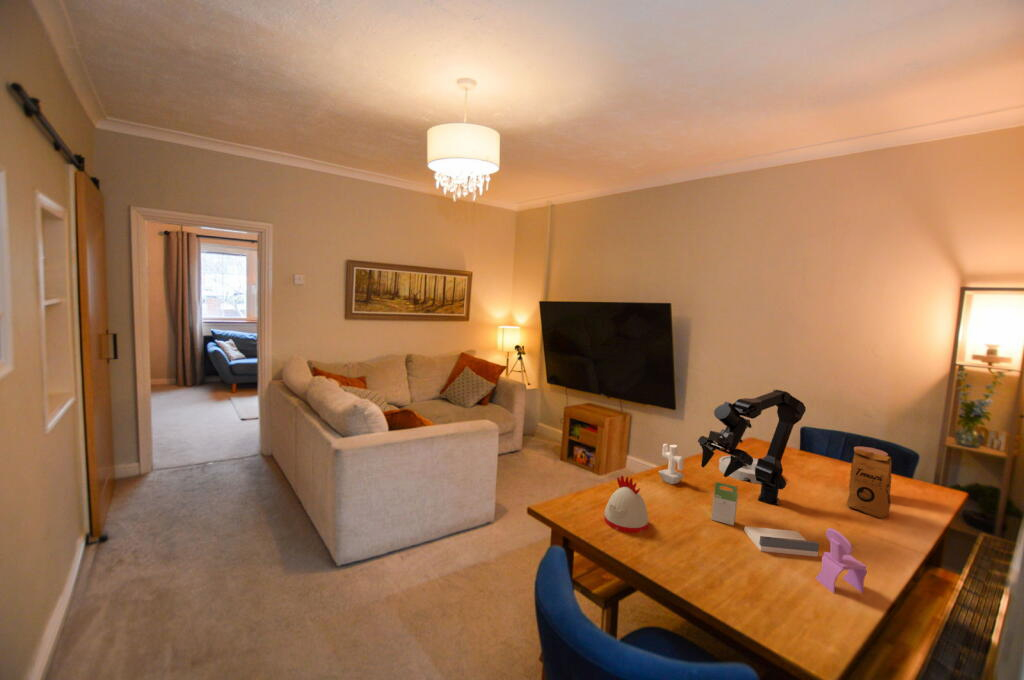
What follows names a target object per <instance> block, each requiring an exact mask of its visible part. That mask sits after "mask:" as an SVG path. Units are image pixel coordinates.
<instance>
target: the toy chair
mask: <svg viewBox="0 0 1024 680" xmlns="http://www.w3.org/2000/svg"><path fill="white" fill-rule="evenodd" d="M825 535H826V538H827V540H828V541H829V543H830V552H829V551H823V555H822V558H821V569H820V572H819V573H818V574H817V575H816V577H815V580H817V581H818V582H819V583H820V584H821V585H823V586H824V587H825V588H826V589H827V590H828V591H829V592H831V593H832V594H835V592H836V590H835V588H836V580H837V578H838V577H839V575H840V574H842V572H843V571H846V570H847V572H846V574H845V575H844V576H843V577H842V579H843V580H844V581H845V582H847V583H848V584H849V585H851V587H853V588H855V589H856V590H858V592H859V593H861V594H864V592H865V591H864V587H865V586H864V585H865V584H864V582H865V578H866V575H867V573H868V570H867V565H865V564H864V563H862V562H860V561H859V560H858V559H856V558H855V557H854V556H852V555H851V554H852V553H853V545H852V543H851V541H850V540H849V539H847V537H845V536H844V535H843V534H842V533H841V532H839V531H838V530H836V529H834V528H830V527H829V528H827V530H826V532H825Z"/></svg>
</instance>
